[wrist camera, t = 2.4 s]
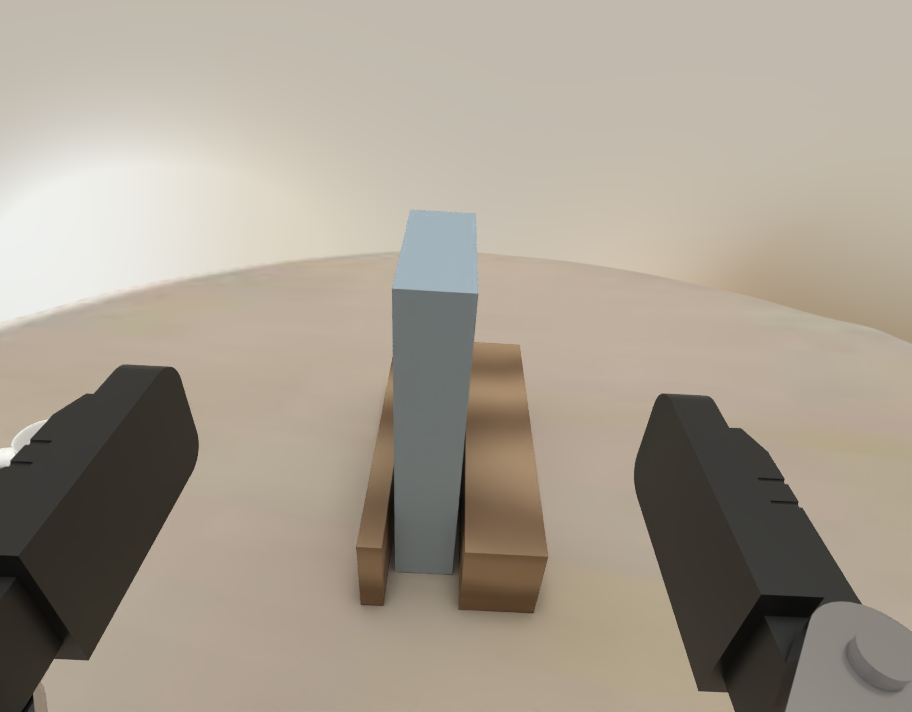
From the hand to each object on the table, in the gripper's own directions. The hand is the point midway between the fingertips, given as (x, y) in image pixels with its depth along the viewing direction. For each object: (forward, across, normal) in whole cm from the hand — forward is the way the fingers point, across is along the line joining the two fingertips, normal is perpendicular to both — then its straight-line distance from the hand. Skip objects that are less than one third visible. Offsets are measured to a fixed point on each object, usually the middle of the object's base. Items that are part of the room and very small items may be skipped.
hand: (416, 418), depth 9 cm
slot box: (+18, -1, +21) cm, 28 cm away
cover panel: (+15, 0, +21) cm, 26 cm away
